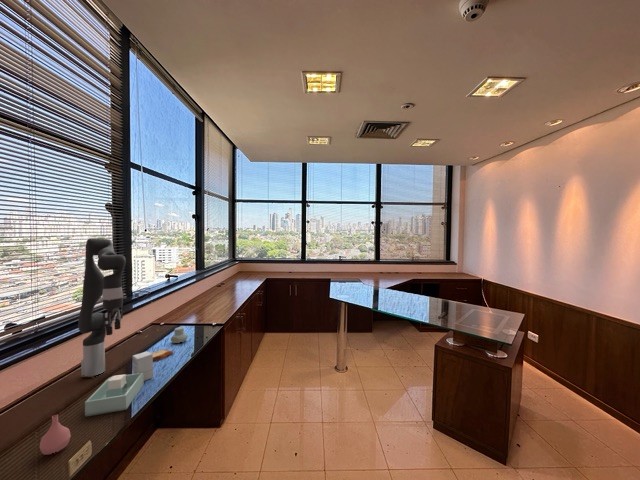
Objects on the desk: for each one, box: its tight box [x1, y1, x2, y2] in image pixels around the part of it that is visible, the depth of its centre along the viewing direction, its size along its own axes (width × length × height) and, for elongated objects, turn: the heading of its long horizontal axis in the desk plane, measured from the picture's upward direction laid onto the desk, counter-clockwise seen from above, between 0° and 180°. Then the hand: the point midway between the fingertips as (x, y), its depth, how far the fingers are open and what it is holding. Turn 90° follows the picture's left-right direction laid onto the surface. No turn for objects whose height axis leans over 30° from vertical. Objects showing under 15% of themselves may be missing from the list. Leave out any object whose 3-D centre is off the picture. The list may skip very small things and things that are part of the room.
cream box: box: [108, 373, 127, 390], centre depth 124 cm, size 5×5×4 cm
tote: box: [84, 373, 144, 418], centre depth 124 cm, size 15×22×6 cm
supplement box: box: [132, 351, 154, 382], centre depth 143 cm, size 7×7×13 cm
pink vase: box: [39, 414, 72, 456], centre depth 93 cm, size 8×8×12 cm
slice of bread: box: [150, 349, 174, 363], centre depth 168 cm, size 18×18×4 cm
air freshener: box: [170, 326, 189, 344], centre depth 195 cm, size 11×8×10 cm
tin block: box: [106, 382, 127, 398], centre depth 124 cm, size 6×6×5 cm
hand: (113, 331), depth 126 cm, fingers open, 8 cm apart
